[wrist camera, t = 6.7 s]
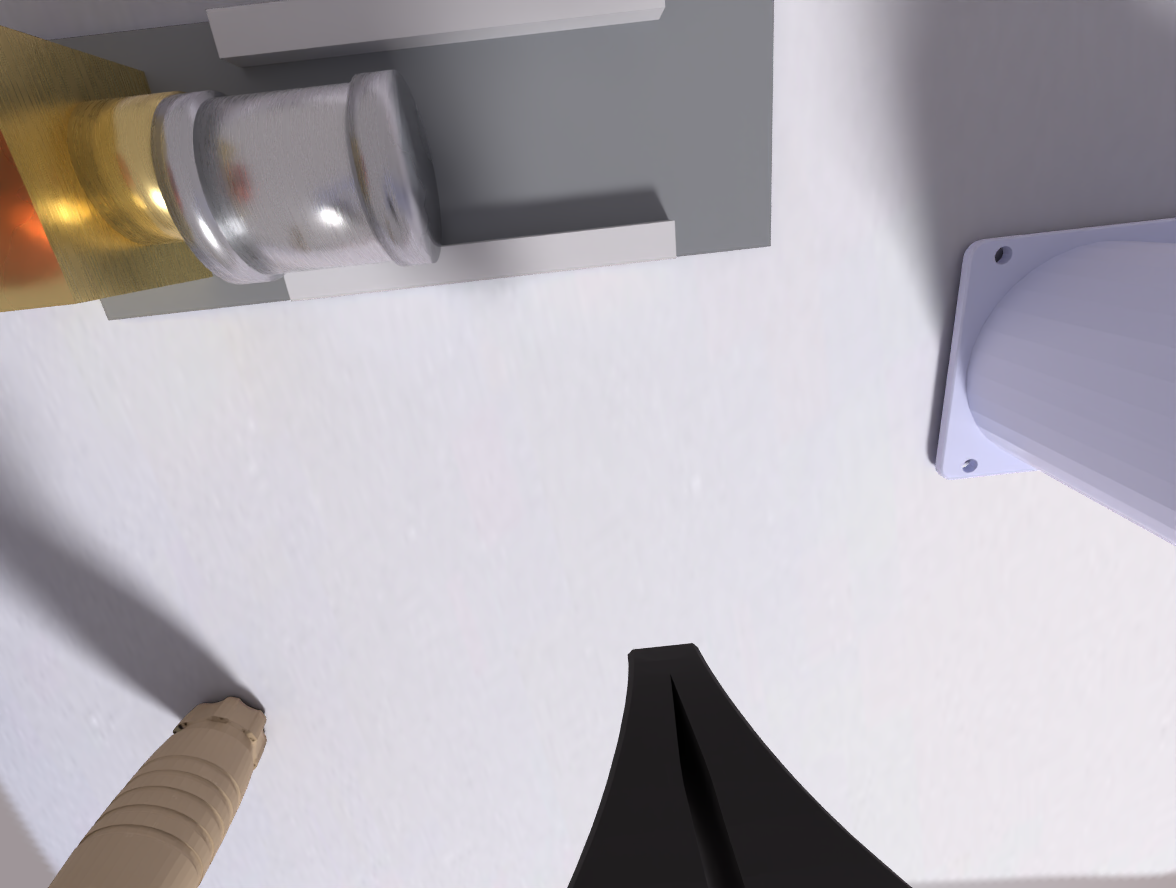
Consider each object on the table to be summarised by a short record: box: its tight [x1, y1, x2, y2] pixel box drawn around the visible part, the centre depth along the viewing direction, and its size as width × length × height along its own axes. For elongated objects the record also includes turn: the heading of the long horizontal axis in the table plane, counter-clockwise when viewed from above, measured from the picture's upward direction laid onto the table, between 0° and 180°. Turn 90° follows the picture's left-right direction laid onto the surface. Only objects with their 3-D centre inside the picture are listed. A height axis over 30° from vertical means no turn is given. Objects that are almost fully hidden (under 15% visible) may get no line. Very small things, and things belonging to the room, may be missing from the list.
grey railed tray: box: [47, 0, 774, 320], centre depth 16 cm, size 20×7×1 cm, turn 96°
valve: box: [0, 25, 213, 312], centre depth 13 cm, size 7×5×7 cm
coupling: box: [150, 69, 442, 285], centre depth 14 cm, size 5×4×4 cm
